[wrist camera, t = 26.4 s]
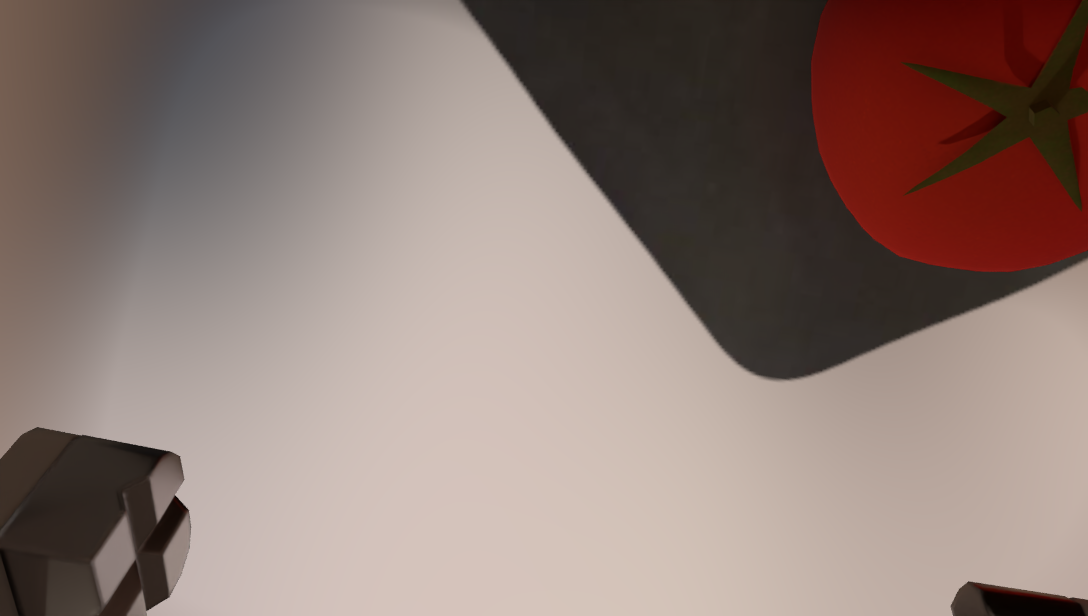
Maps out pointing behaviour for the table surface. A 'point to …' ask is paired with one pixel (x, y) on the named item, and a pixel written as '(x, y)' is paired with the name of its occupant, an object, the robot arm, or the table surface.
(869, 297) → the table surface
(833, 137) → the tomato
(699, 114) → the table surface
